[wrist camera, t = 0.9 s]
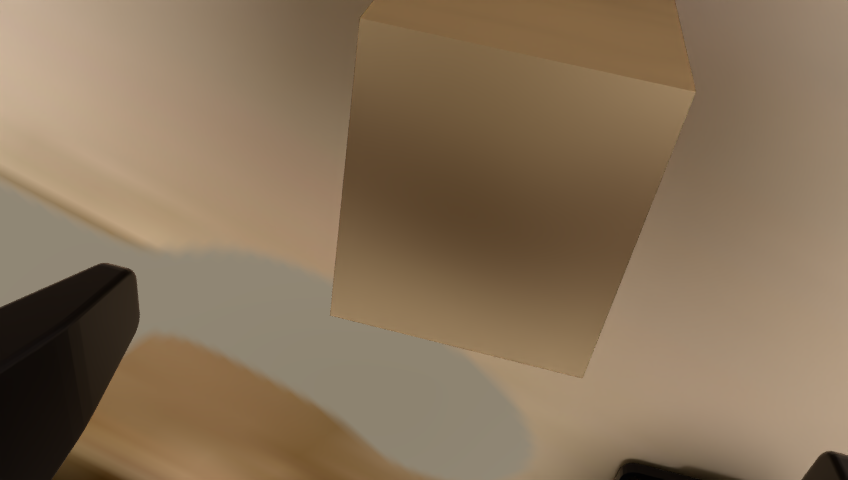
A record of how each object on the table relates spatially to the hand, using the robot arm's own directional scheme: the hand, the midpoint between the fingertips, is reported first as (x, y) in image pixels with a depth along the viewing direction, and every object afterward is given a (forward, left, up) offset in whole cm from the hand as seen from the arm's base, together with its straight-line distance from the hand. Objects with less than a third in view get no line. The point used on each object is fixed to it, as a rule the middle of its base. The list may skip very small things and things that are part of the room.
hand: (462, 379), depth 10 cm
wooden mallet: (+4, 0, -12) cm, 12 cm away
